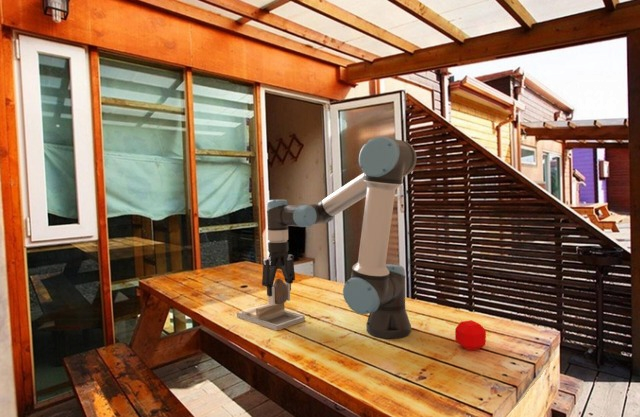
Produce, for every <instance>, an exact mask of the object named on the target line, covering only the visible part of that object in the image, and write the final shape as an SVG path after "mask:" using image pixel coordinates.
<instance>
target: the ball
mask: <svg viewBox="0 0 640 417" xmlns="http://www.w3.org/2000/svg"><path fill="white" fill-rule="evenodd" d="M454 332H455V335H454V337H455V341H456V342H457V343H458V345H459V346H460V347H462V348H463V349H465V348H466V349H465V350H467V351H469V350H471V351H476V350H475V349H477V350H481V349H482V348H483V347H484V346H485V345H486V342H487V330H486V328H485V327H483V325H482V324H480V323H478V322H476V321H474V320H464V321H460V322H459V323H458V325H456V327H455V331H454ZM480 348H481V349H480Z"/></svg>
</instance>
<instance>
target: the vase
mask: <svg viewBox="0 0 640 417" xmlns="http://www.w3.org/2000/svg"><path fill="white" fill-rule="evenodd" d="M285 283H286V282H284V281H283V278H276V279H274V283H273V287H274V289H275V304H283V303H284V304H286V302H288V301H287V299H288V295H289V292H288V288H287V286H286V285H285Z"/></svg>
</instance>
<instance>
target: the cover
mask: <svg viewBox="0 0 640 417" xmlns="http://www.w3.org/2000/svg"><path fill="white" fill-rule="evenodd" d="M285 308H286V307H285V303H283V304H275V305H270V304H269V302H268V303H267V302H266V303H263V304H260V305H256V306H253V307H248V308H245V309H242V310H241V312H242V314H245V315H248V316H251V317H254V318H257V319H262V318H265V317H268V316H271V315H274V314H278V313H281V312H284V311H285Z"/></svg>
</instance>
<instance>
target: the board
mask: <svg viewBox="0 0 640 417" xmlns="http://www.w3.org/2000/svg"><path fill="white" fill-rule="evenodd" d="M236 317H237V318H239V319H241V320H244V321H248V322H250V323H253V324H255V325H259V326H261V327H264V328H267V329H270V330H274V331H276V332H277V331H279V330H282V329H286V328H288V327H292V326H294V325H297V324H299V323H302V322H305V321H306V316H304V314H303V315H302V314H299V313H295V312H292V311H289V310H285V311H284V312H281V313H278V314H274V315H271V316H268V317H265V318H262V319H257V318H254V317H251V316H248V315H245V314H242V311H238V312H236Z"/></svg>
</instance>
